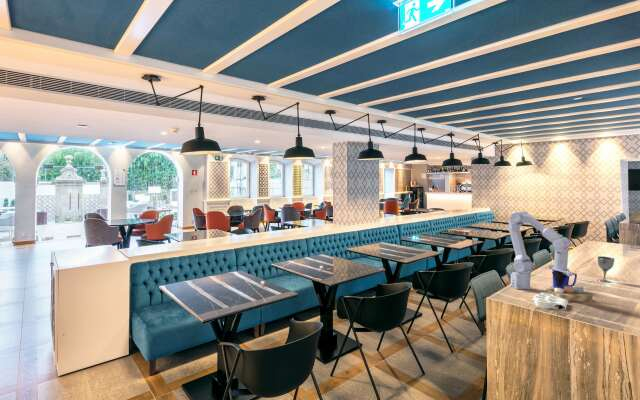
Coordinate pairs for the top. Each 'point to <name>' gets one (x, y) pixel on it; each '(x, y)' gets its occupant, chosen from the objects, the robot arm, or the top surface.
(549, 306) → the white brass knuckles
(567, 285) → the mug
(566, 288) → the pink egg
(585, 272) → the top surface
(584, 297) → the wooden compartment tray
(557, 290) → the pale grey rounded piece
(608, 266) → the wine glass
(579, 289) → the pale blue rounded lump
